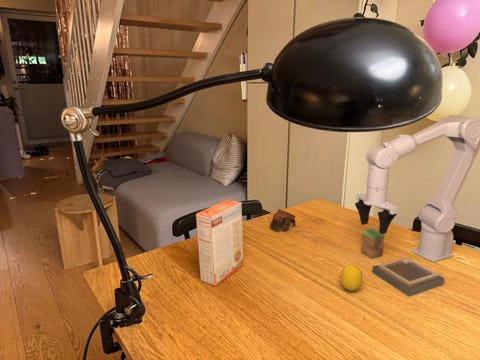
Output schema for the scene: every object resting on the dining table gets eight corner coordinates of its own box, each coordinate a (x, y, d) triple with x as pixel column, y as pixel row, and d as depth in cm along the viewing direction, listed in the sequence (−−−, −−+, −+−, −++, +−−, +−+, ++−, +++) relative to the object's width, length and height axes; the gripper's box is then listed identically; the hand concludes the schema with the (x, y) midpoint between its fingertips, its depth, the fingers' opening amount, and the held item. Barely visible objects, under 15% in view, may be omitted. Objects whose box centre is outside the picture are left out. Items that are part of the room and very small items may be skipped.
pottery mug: (265, 226, 136) (272, 207, 137) (285, 234, 138) (293, 215, 139) (275, 230, 124) (283, 209, 125) (297, 240, 126) (305, 219, 127)
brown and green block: (371, 250, 114) (374, 228, 112) (382, 256, 110) (384, 233, 108) (361, 253, 113) (363, 230, 111) (371, 259, 109) (373, 235, 107)
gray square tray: (404, 263, 106) (405, 254, 105) (443, 284, 95) (445, 275, 94) (372, 272, 101) (373, 264, 100) (409, 296, 90) (410, 287, 89)
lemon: (362, 298, 89) (364, 270, 87) (340, 295, 90) (342, 268, 88) (359, 286, 95) (362, 259, 92) (338, 284, 96) (340, 258, 93)
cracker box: (228, 260, 109) (226, 198, 104) (244, 266, 106) (243, 201, 100) (198, 280, 98) (194, 212, 93) (215, 287, 95) (212, 216, 89)
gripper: (349, 182, 108) (347, 222, 111) (386, 195, 95) (381, 240, 99) (367, 179, 110) (363, 218, 114) (404, 191, 98) (399, 235, 101)
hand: (373, 228), depth 106 cm, fingers open, 7 cm apart
